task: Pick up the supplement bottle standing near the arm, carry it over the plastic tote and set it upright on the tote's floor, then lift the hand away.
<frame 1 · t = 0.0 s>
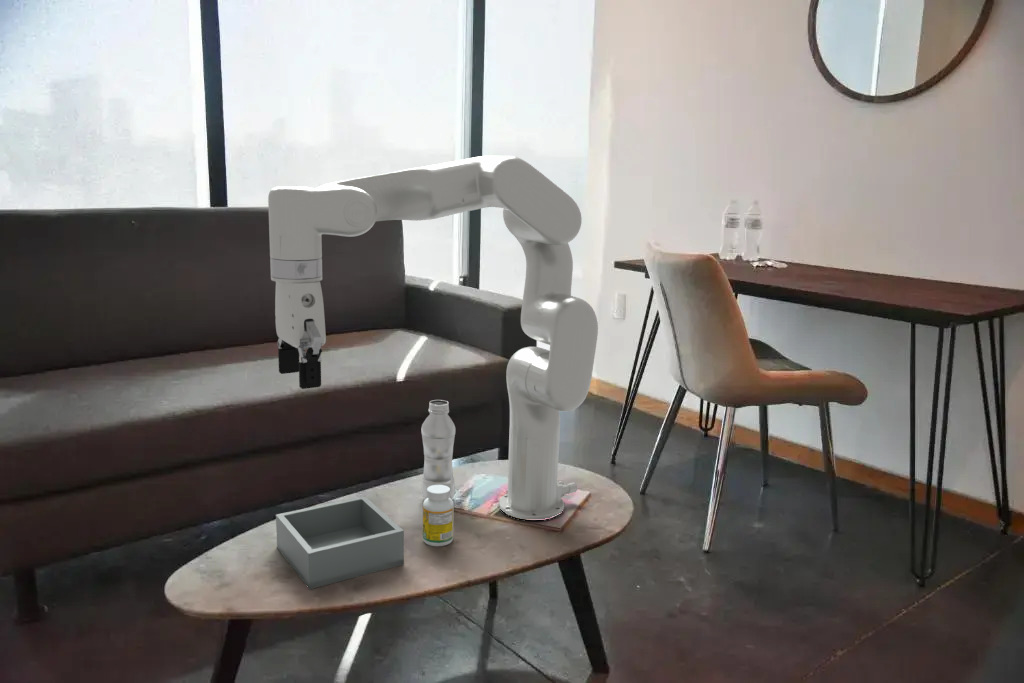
hand: (299, 379, 125), 31 cm above the table, tool pointing down, fingers open, 9 cm apart
plastic bottle: (437, 501, 159), on the table
tote: (339, 555, 135), on the table
supplement bottle: (437, 541, 142), on the table
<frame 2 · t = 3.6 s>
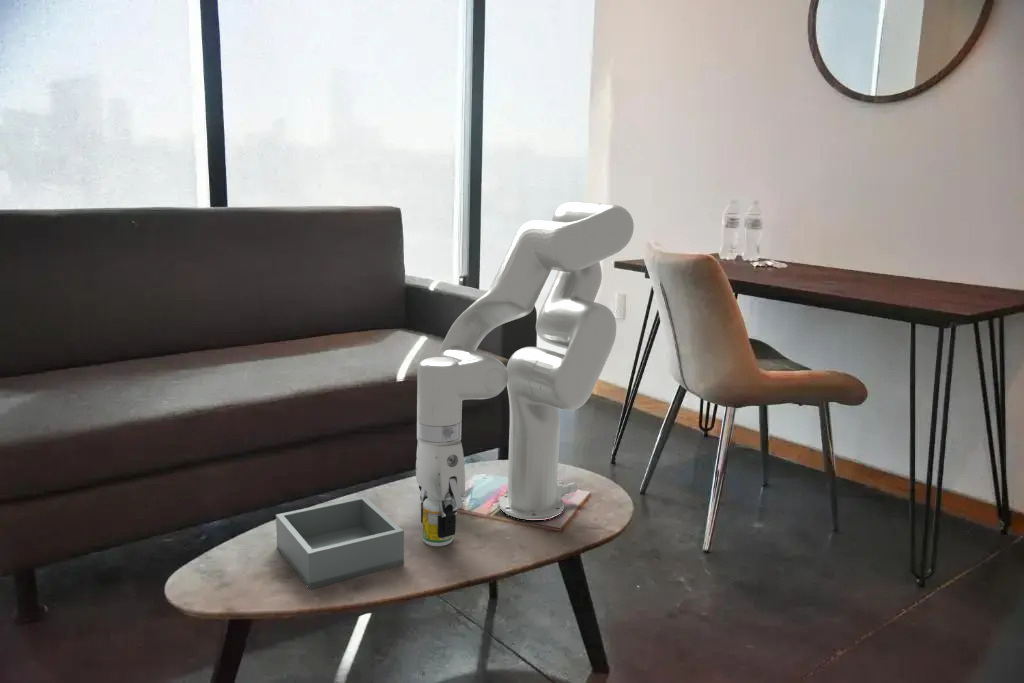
hand: (438, 527, 142), 2 cm above the table, tool pointing down, fingers closed on supplement bottle, 5 cm apart
supplement bottle: (437, 541, 142), on the table, touching gripper
everything else where it was.
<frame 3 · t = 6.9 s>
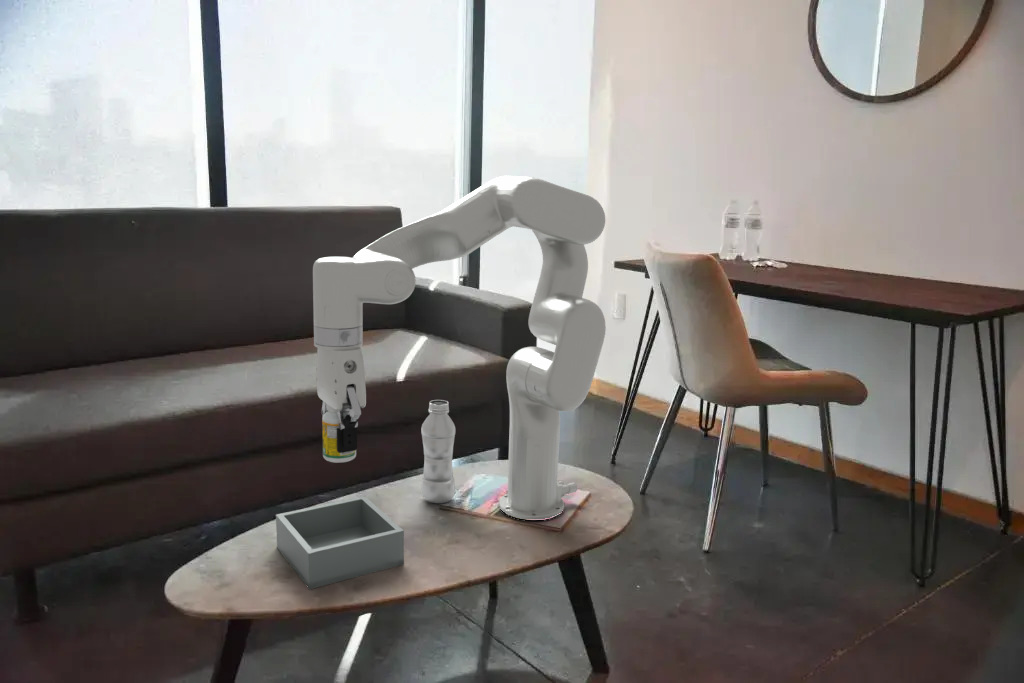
hand: (339, 444, 131), 20 cm above the table, tool pointing down, fingers closed on supplement bottle, 5 cm apart
supplement bottle: (339, 458, 132), point 17 cm above the table, touching gripper
everything else where it was.
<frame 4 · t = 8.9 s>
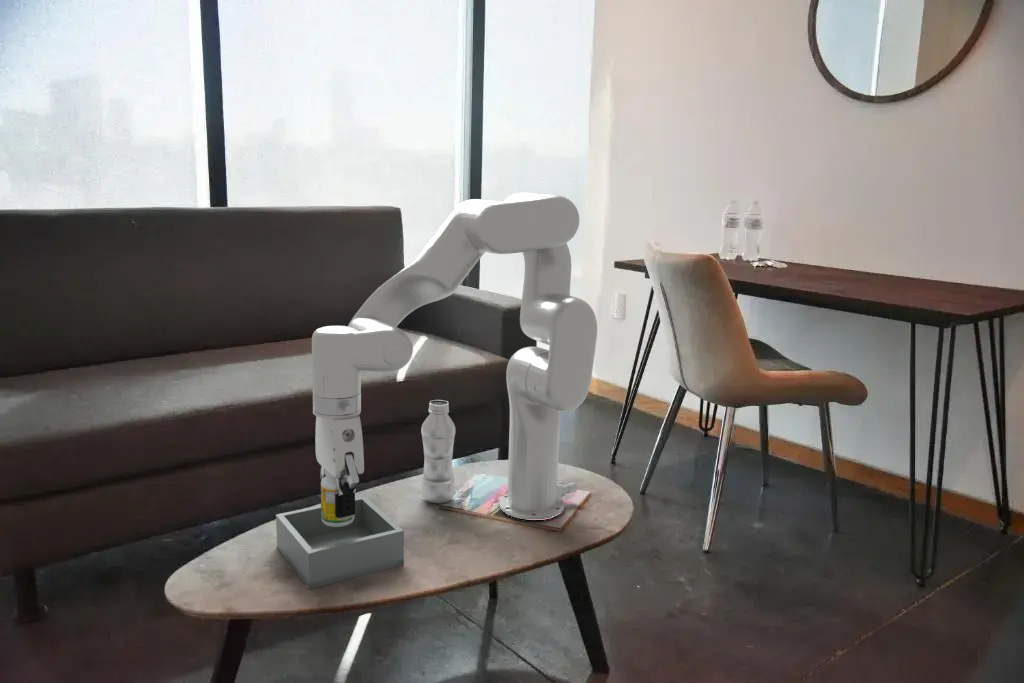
hand: (338, 507, 134), 9 cm above the table, tool pointing down, fingers closed on supplement bottle, 5 cm apart
supplement bottle: (338, 521, 134), point 6 cm above the table, touching gripper
everything else where it was.
when the fingers open (5 cm above the table, at t = 10.4 s): supplement bottle drops 2 cm, resting on tote.
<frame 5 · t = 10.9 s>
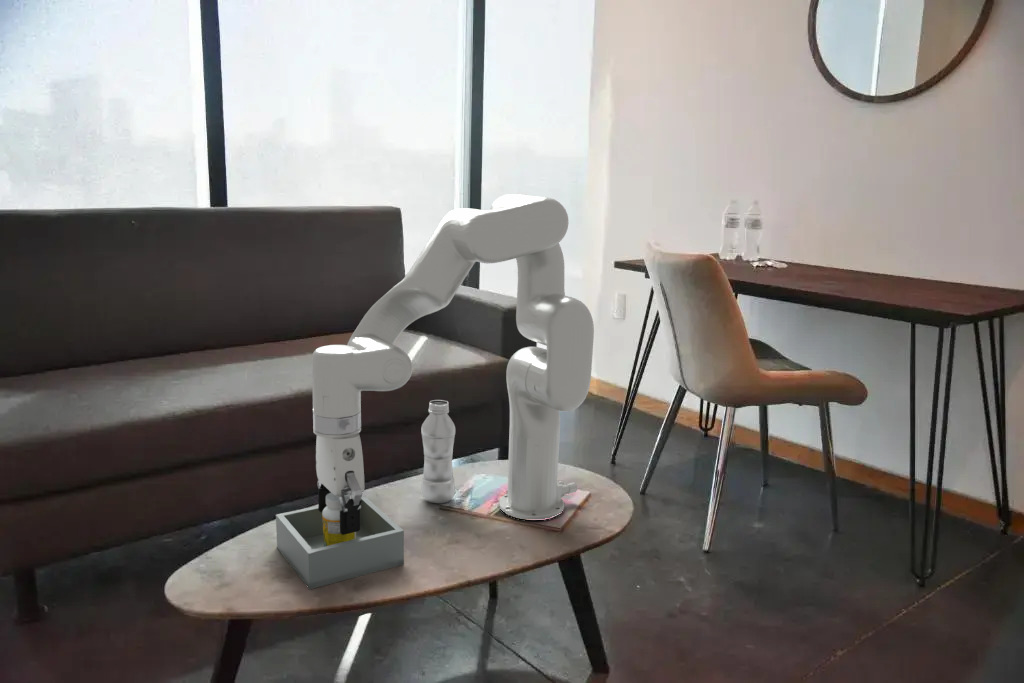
hand: (338, 520, 134), 6 cm above the table, tool pointing down, fingers open, 9 cm apart
supplement bottle: (340, 550, 135), point 1 cm above the table, touching tote
everything else where it was.
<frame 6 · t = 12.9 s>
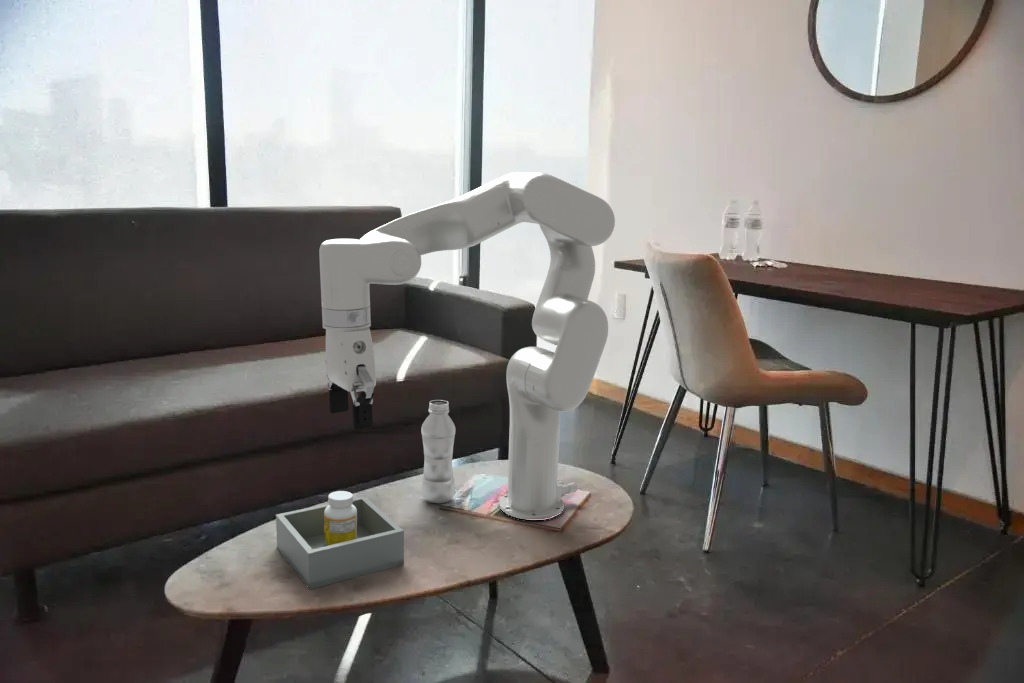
hand: (350, 419, 133), 23 cm above the table, tool pointing down, fingers open, 9 cm apart
nothing on the table moved.
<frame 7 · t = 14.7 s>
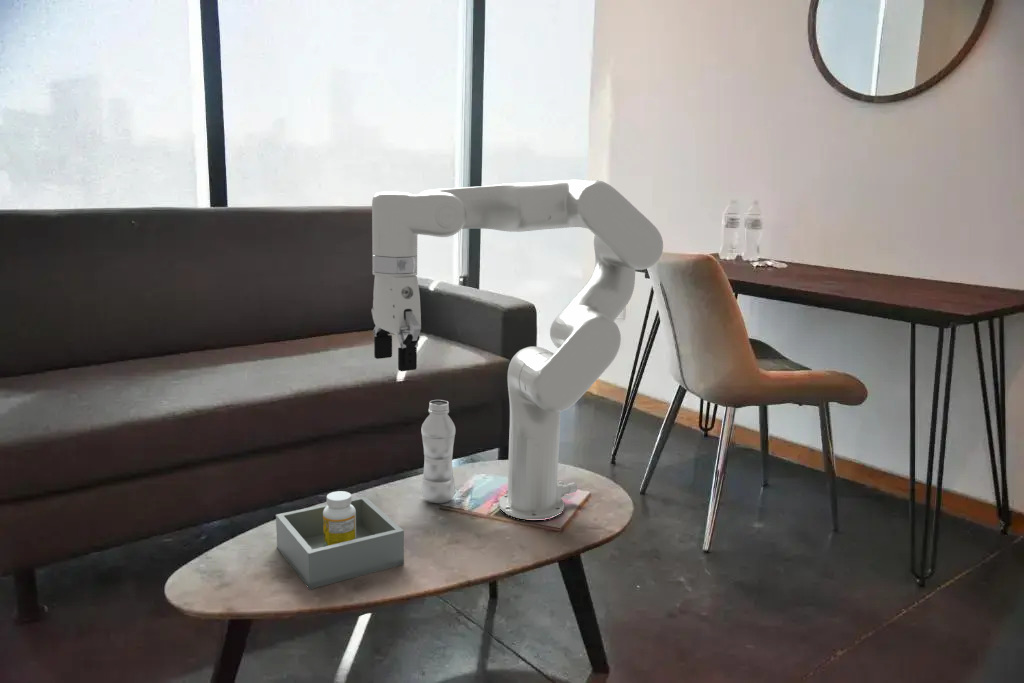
hand: (395, 363, 141), 30 cm above the table, tool pointing down, fingers open, 9 cm apart
nothing on the table moved.
at the end: supplement bottle inside the target area on the tote (0.3 cm from its centre), point 0.8 cm above the tote's base; supplement bottle tilted 1°; the gripper is holding nothing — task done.
